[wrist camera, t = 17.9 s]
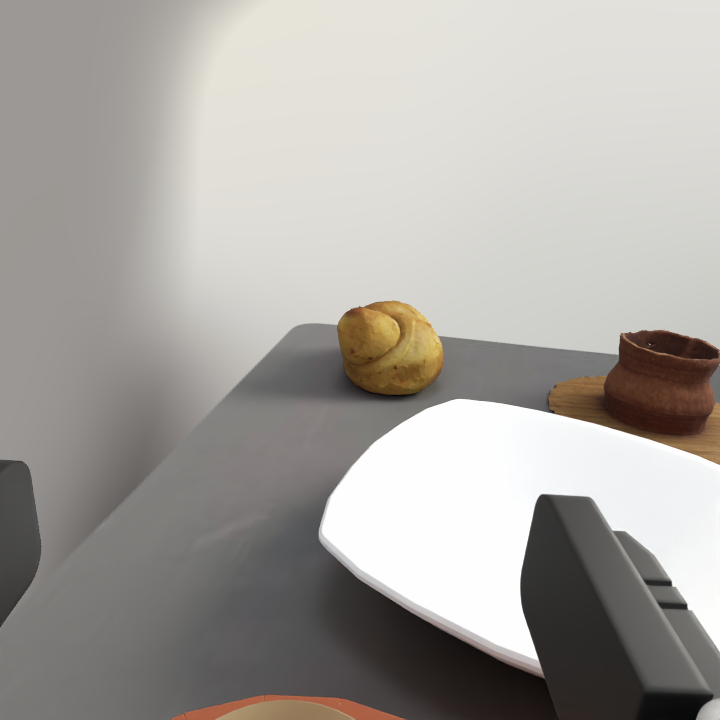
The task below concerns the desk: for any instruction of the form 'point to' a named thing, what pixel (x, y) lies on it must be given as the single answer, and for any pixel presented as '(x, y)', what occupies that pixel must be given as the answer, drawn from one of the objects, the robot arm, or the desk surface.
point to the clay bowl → (363, 715)
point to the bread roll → (389, 348)
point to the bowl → (512, 514)
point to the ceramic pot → (652, 393)
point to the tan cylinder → (286, 711)
